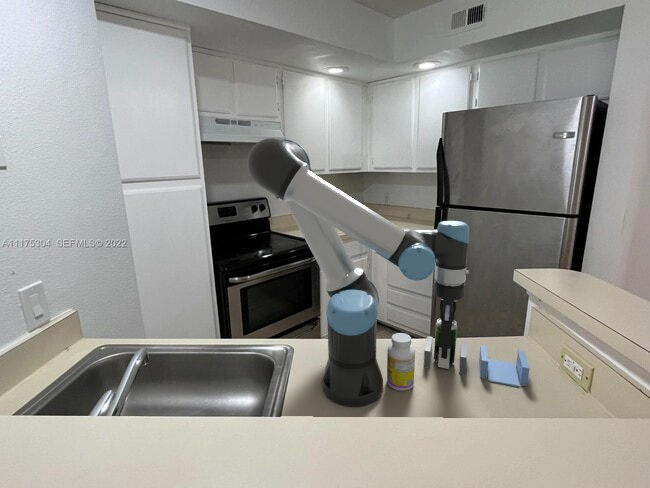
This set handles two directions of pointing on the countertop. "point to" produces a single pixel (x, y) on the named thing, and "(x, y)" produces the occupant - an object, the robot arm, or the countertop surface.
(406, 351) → the supplement bottle
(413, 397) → the countertop surface
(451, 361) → the beer can
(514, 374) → the blue bezel pad
